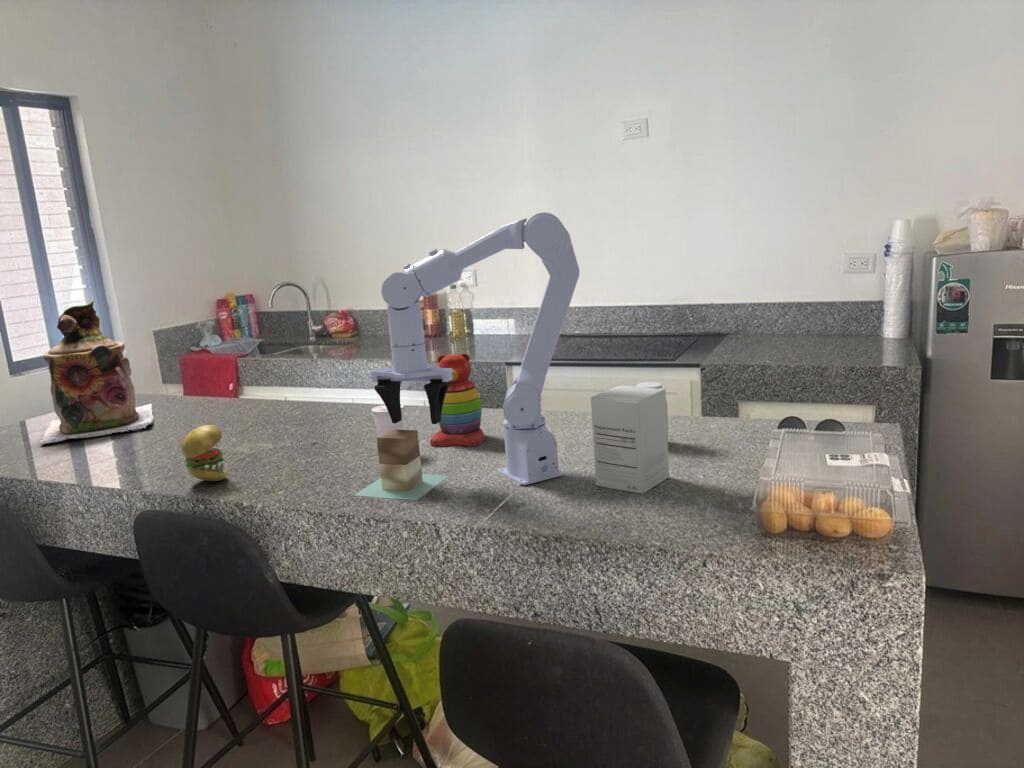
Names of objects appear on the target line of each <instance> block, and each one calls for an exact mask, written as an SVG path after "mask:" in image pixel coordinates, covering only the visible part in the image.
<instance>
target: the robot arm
mask: <svg viewBox="0 0 1024 768" xmlns="http://www.w3.org/2000/svg"><path fill="white" fill-rule="evenodd" d="M524 243H526V246H527V247H528V248H529V249H530V250H531V251H532V252H534V254H536V256H537V257H538V258H540V259H541V262H542V264H543V266H544V267H545V269H546V271H547V273H548V275H549V278H548V282H547V284H546V288H545V290H544V294H543V296H542V300H541V303H540V306H539V309H538V312H537V316H536V317H535V321H534V324H533V328H532V331H531V333H530V336H529V340H528V343H527V346H526V348H525V349H526V350H525V351H524V352H525V353H524V355H523V359H522V361H521V364H520V367H519V370H518V373H517V376H516V378H515V380H514V381H513V382H512V383H511V384H510V385H509V386H508V387H507V390H506V392H505V400H504V402H503V405H502V413H503V416H504V418H505V419H504V420H503V422H502V425H503V438H504V439H503V441H504V451H505V462H506V464H505V465H506V467H501V468H498V469H497V472H498V473H499V474H501V475H503V476H504V477H507V478H509V479H510V480H512V481H513V482H516V483H519V484H520V485H522V486H527V485H530V484H531V485H532V484H534V483H538V482H542V481H546V480H551V479H554V478H560V477H562V476H564V472H563V471H561V470H559V459H558V455H559V454H558V442H557V439H556V437H555V435H554V434H553V433H552V432H550V430H549V429H548V428H547V424H546V417H545V416H543V415H542V404H541V402H542V393H543V389H544V385H545V381H546V377H547V374H548V371H549V369H550V365H551V362H552V358H553V355H554V352H555V350H556V347H557V343H558V341H559V338H560V335H561V331H562V329H563V325H564V323H565V320H566V318H567V314H568V310H569V307H570V305H571V301H572V298H573V295H574V292H575V289H576V287H577V283H578V280H579V277H580V267H579V264H578V260H577V257H576V253H575V250H574V246H573V243H572V238H571V235H570V233H569V231H568V229H567V228H566V227H565V226H564V224H563V222H562V221H561V219H560V218H559V217H557V216H556V215H554V214H553V213H550V212H539V213H536V214H534V215H532V216H531V217H530V218H529V219H528V218H527V217H526V218H523V219H520V220H516V221H514V222H510V223H507V224H504V225H502V226H500V227H498V228H496V229H495V230H493V231H491V232H490V233H488V234H486V235H484V236H482V237H480V238H478V239H477V240H475V241H473V242H471V243H470V244H467V245H466V246H464V247H462V248H460V249H459V250H456V251H453V250H452V251H451V250H449V249H446V248H442V249H440V250H438V249H437V248H434V249H432V250H430V251H429V252H428V256H427V257H425V258H423V259H421V260H419V261H417V262H415V263H413V264H410V263H407V264H405V265H404V266H403V269H404V271H395V272H393V273H391V274H390V275H389V276H388V277H386V279H385V280H384V281H383V282H382V285H381V296H382V297H381V298H383V300H384V302H385V303H386V309H387V310H386V312H387V324H388V333H389V342H390V350H391V358H392V366H393V367H392V368H391V367H390V368H377V369H373V370H371V371H370V376H371V382H372V383H377V384H376V385H375V386H374V390H375V392H376V393H377V394H378V396H379V397H380V398H381V400H382V402H383V405H385V406H386V408H387V410H388V412H389V415H390V417H391V420H392V423H398V422H399V421H401V419H402V414H401V405H400V404H401V385H402V382H429V383H426V384H424V385H423V389H424V390H425V393H426V397H427V400H428V407H429V415H430V422H431V424H432V425H437V424H439V422H440V421H441V413H442V407H443V402H444V399H445V395H446V393H447V390H448V388H449V385H450V381H451V380H453V376H452V368H438V367H434V366H433V367H432V366H428V359H427V351H426V341H425V332H424V322H423V315H422V311H421V310H422V309H421V302H420V299H421V297H424V298H428V297H429V296H431V295H433V294H435V293H438V292H439V291H441V290H443V289H445V288H447V287H449V286H451V285H453V284H455V283H457V282H459V281H460V280H461V277H462V274H463V271H464V269H466V268H468V267H470V266H472V265H474V264H477V263H479V262H481V261H483V260H485V259H487V258H489V257H491V256H493V255H495V254H498V253H500V252H502V251H504V250H524V248H525V244H524Z"/></svg>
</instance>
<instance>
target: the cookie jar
mask: <svg viewBox="0 0 1024 768" xmlns="http://www.w3.org/2000/svg"><path fill="white" fill-rule="evenodd" d="M94 302H95V300H93V299H92V300H90V301H89V302H88V303H86V304H83V305H82V304H81V305H74V306H73V305H72V306H70V307H68V308H66V309H65V310H64V311H63V313H62V314H60V316H59V317H58V321H57V326H56V328H57V329H58V330H59V332H60V333H61V335H62V336H63V338H62V340H61V341H60V342H59V343H58V344H57V345H55V346H53V347H52V348H50V349H49V350H47V351H46V352H44V353H43V360H44V361H45V362H46V363H47V364H48V370H49V371H48V372H49V373H50V382H51V383H50V394H51V395H50V396H51V398H52V403H53V410H54V413H55V414H56V416H57V418H58V419H57V420H56V419H55V420H51V421H50V422H49V424H48V427H47V428H46V430H45V431H44V434H43V435H44V436H42V439H41V440H40V441H39V444H40V445H41V446H42V445H43V446H44V445H45V444H51V443H53V444H54V443H57V442H62V441H66V440H68V439H84V438H85V439H86V438H92V437H99V436H106V435H113V434H112V433H114V434H117V433H118V434H119V432H120V433H125V431H126V432H130V431H129V430H132V431H135V430H134V429H141V428H144V429H146V428H147V426H149V425H152V424H153V421H154V414H153V404H152V403H148V404H145V405H142V406H136V399H137V398H136V393H135V392H136V389H135V386H134V383H133V382H132V379H131V377H130V376H131V375H132V369H131V365H130V360H129V358H128V357H127V356H124V351H125V349H126V348H125V347H126V345H125V343H124V342H123V341H114V340H113V339H111V338H110V337H108V336H106V335H104V334H103V332H102V331H101V328H100V324H101V322H100V319H101V318H100V317H99V316H98V315H97V311H96V309H94ZM151 423H152V424H151Z"/></svg>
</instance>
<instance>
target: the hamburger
mask: <svg viewBox="0 0 1024 768" xmlns="http://www.w3.org/2000/svg"><path fill="white" fill-rule="evenodd" d="M185 425H186V426H187V427H188V428H189V429H190V431H189V432H188V433H187V434H186V435H185V437H184V438H183V439H182V442H181V445H180V450H181V454H182V455H183V456H184V460H183V461H184V462H185V463H186V464H185V467H186V468H187V470H188V473H189V475H190V476H191V477H194V478H196V479H198V480H200V481H208V482H218V481H219V482H220V481H223V480H225V479H226V477H227V476H228V472H227V470H224V464H223V462H224V461H225V458H224V457H223V454H224V450H223V449H221V448H220V447H219V445H218V443H219V444H221V439H223V438H222V437H223V431H222V429H220V428H219V427H217V425H212V424H205V425H204V424H203V425H200V426H198V427H196V428H194V429H191V426H190V424H189V423H188V422H187V421H186V423H185ZM219 463H220V465H219ZM214 466H215V467H214Z"/></svg>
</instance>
